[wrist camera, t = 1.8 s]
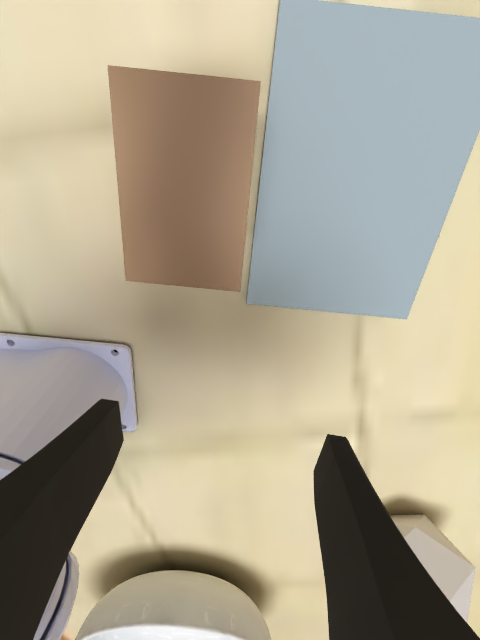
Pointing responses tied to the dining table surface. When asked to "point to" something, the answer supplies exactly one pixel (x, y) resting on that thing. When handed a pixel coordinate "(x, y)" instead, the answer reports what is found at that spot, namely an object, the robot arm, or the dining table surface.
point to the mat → (361, 154)
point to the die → (439, 559)
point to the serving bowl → (175, 610)
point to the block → (183, 174)
